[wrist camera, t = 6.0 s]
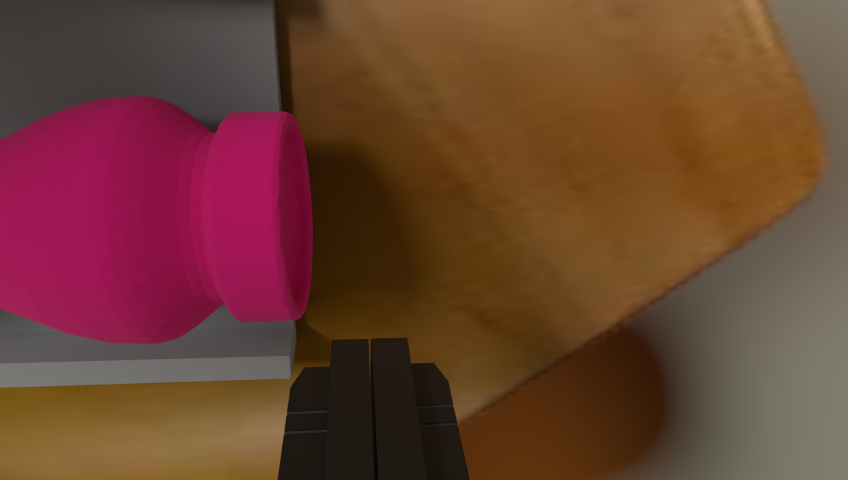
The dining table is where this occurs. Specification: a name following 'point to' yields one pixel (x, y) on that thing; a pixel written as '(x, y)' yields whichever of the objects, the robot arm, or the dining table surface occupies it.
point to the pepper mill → (153, 220)
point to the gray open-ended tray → (153, 77)
